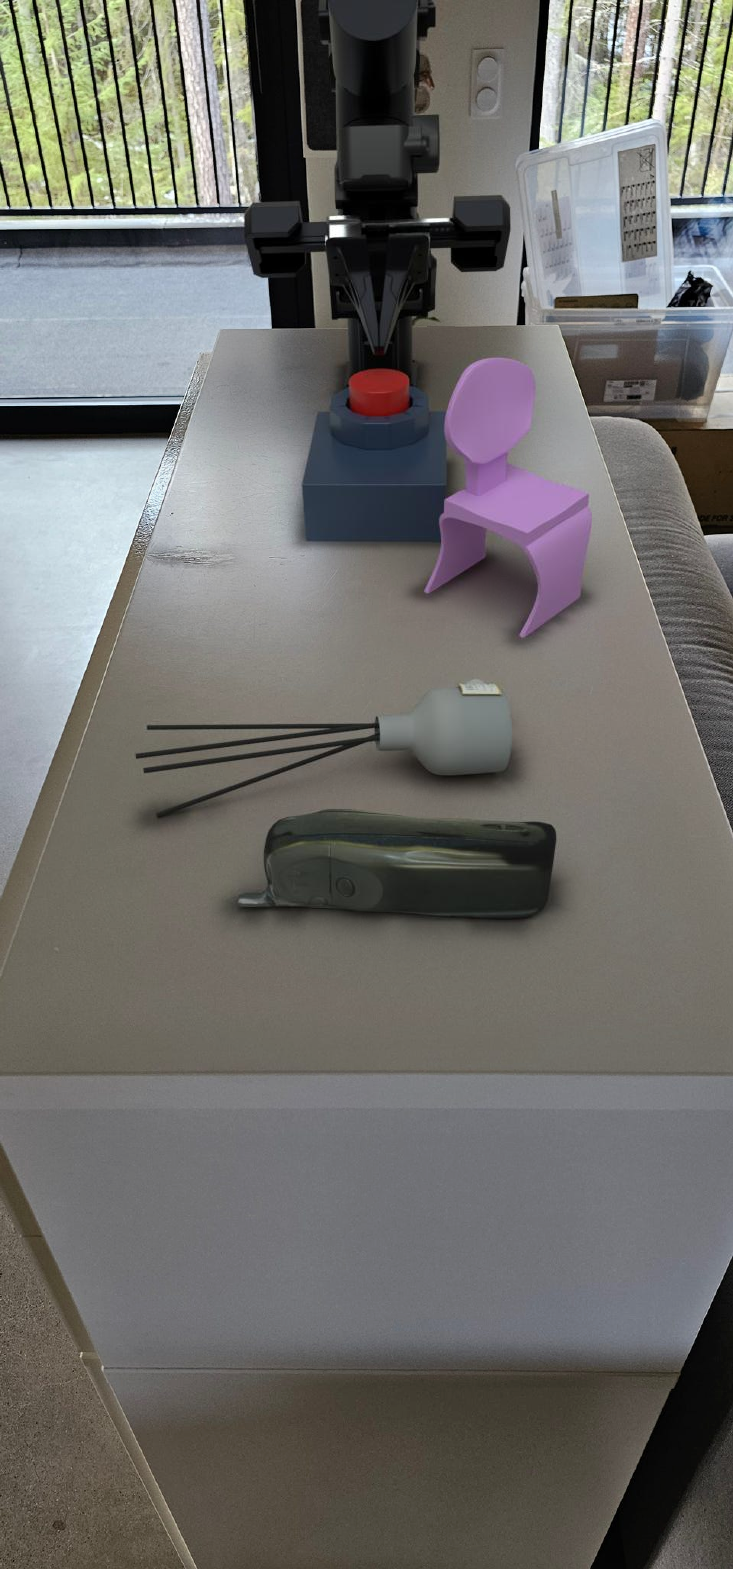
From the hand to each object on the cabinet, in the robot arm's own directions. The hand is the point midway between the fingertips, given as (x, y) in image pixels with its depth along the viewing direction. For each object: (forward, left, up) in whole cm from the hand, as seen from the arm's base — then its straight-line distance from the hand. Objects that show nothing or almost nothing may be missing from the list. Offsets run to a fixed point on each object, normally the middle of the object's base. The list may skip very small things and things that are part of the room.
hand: (379, 352), depth 79 cm
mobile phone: (+44, +3, -10) cm, 45 cm away
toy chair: (+16, +9, -10) cm, 21 cm away
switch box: (+3, 0, -10) cm, 11 cm away
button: (0, 0, -4) cm, 4 cm away
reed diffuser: (+34, -1, -10) cm, 36 cm away
